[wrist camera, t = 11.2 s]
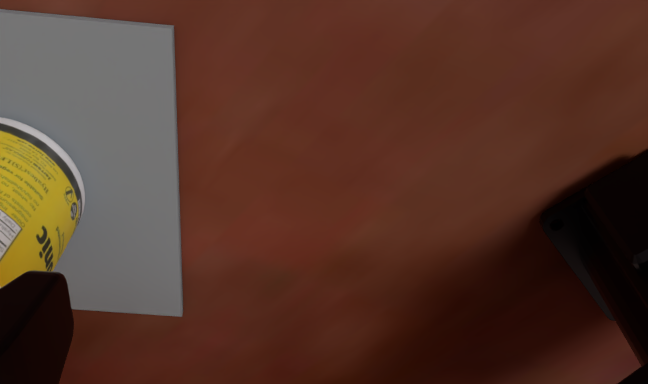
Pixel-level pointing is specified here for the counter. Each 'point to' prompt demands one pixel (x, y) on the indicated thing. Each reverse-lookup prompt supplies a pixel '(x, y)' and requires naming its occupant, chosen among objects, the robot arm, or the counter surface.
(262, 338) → the counter surface
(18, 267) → the supplement bottle
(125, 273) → the mat
